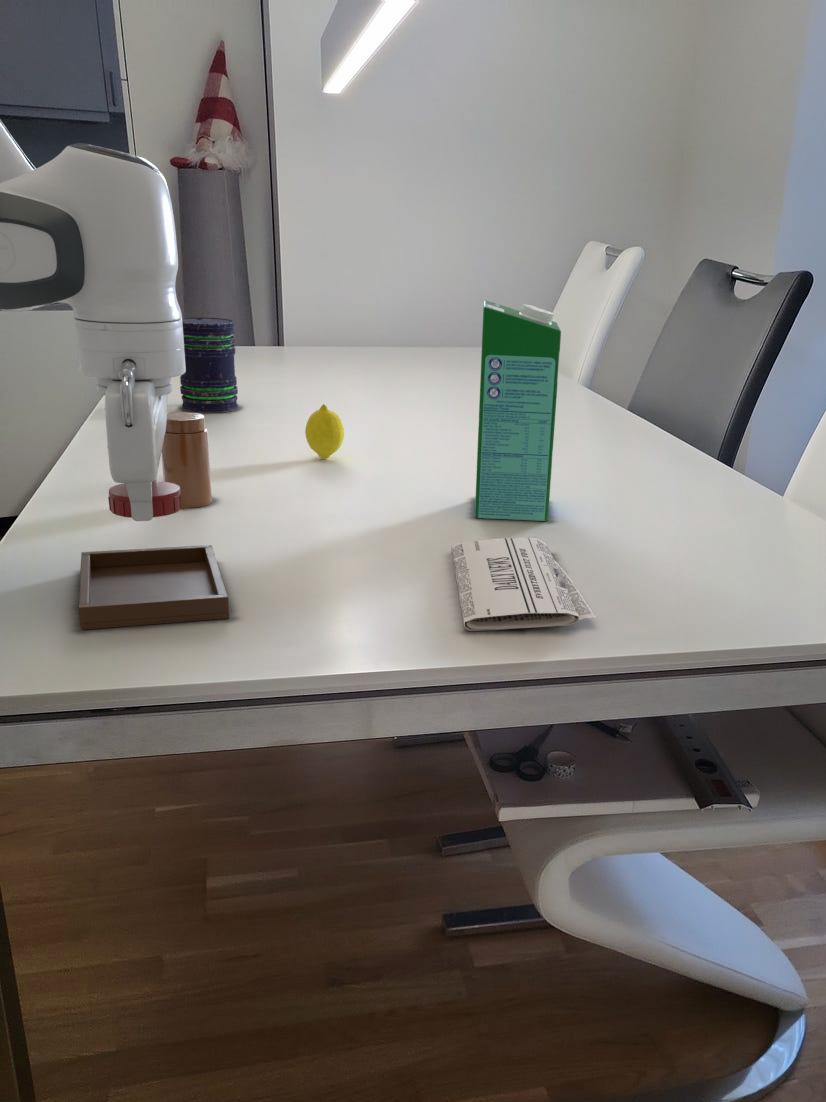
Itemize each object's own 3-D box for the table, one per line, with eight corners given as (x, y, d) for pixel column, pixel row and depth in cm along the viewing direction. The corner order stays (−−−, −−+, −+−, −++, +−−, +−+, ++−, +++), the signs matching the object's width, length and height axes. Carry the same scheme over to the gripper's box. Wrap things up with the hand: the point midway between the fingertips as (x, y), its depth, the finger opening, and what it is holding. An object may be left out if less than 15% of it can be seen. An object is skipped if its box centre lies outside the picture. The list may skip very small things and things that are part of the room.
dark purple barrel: (247, 410, 183) (243, 323, 177) (193, 414, 178) (187, 324, 172) (226, 401, 191) (221, 316, 185) (173, 404, 185) (167, 318, 179)
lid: (181, 517, 93) (179, 496, 92) (107, 519, 91) (105, 498, 91) (182, 499, 98) (181, 480, 98) (113, 501, 97) (111, 481, 96)
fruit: (322, 465, 148) (321, 409, 145) (298, 458, 152) (296, 403, 149) (351, 459, 152) (351, 405, 149) (327, 453, 156) (326, 399, 153)
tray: (83, 571, 103) (81, 552, 102) (212, 563, 107) (211, 544, 106) (81, 630, 90) (78, 607, 89) (229, 618, 94) (228, 596, 93)
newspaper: (598, 632, 94) (597, 607, 93) (465, 643, 94) (463, 618, 93) (561, 552, 115) (560, 530, 114) (452, 561, 115) (450, 539, 113)
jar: (155, 502, 127) (148, 416, 123) (189, 493, 132) (183, 409, 127) (188, 510, 125) (182, 422, 120) (221, 501, 129) (216, 416, 125)
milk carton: (547, 521, 127) (562, 309, 117) (474, 518, 127) (483, 305, 117) (544, 502, 135) (558, 302, 126) (475, 499, 135) (484, 299, 125)
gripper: (165, 371, 81) (178, 540, 86) (173, 338, 99) (183, 479, 105) (80, 370, 80) (98, 542, 85) (104, 337, 98) (118, 480, 103)
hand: (145, 507), depth 95 cm, fingers closed on lid, 6 cm apart
